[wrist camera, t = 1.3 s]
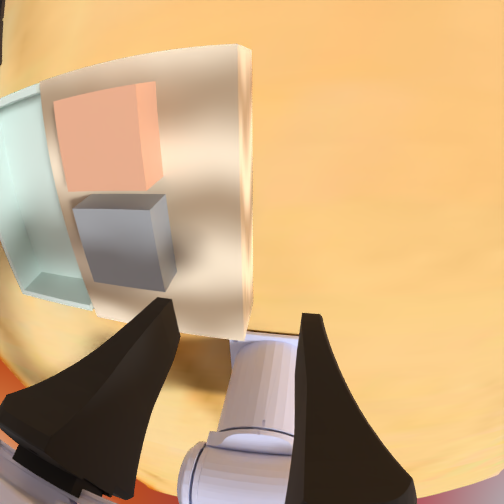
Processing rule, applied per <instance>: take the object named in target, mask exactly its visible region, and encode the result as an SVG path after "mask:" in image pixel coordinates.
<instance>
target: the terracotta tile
mask: <svg viewBox="0 0 504 504" xmlns="http://www.w3.org/2000/svg"><path fill="white" fill-rule="evenodd" d="M53 104H54V113H55V121H56V128H57V135H58V141H59V147H60V153H61V158H62V164H63V169H64V174H65V179H66V183H67V188H68V192H78V191H147V190H148V189H149V188H151V187H152V186H153V185H154V184H155V183H156V182H158V181H159V180H160V179H161V178H162V177H164V176H163V167H162V157H161V147H160V136H159V124H158V112H157V97H156V81H152V82H145V83H138V84H132V85H126V86H120V87H114V88H109V89H104V90H99V91H94V92H90V93H85V94H81V95H77V96H73V97H69V98H65V99H61V100H57V101H54V102H53Z"/></svg>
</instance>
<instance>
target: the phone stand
mask: <svg viewBox="0 0 504 504" xmlns="http://www.w3.org/2000/svg"><path fill="white" fill-rule="evenodd" d="M4 7H5V0H0V65H1V63H2V33H3V21H2V18H4Z"/></svg>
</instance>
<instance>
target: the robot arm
mask: <svg viewBox="0 0 504 504" xmlns="http://www.w3.org/2000/svg"><path fill="white" fill-rule="evenodd" d="M179 340H180V332H179V328H178V324H177V319H176V315H175V311H174V306H173V302H172V299H168V298H161V297H157V298H156V299H154V300H153V301H152V302H151V303H150V304H149V305H148V306H146V307H145V308H144V309H143V310H142V311H141V312H140V313H139V314H138V315H136V316H135V317H134V318H133V319H132V320H131V321H130V322H129V323H127V324H126V325H125V326H124V327H123V328H122V329H121V330H119V331H118V332H117V333H116V334H115V335H114V336H112V337H111V338H110V339H109V340H107V341H106V342H105V343H104V344H102V345H101V346H100V347H99V348H97V349H96V350H95V351H93V352H92V353H90V354H89V355H88V356H86V357H85V358H83V359H82V360H80V361H79V362H77V363H75V364H74V365H72V366H70V367H69V368H67V369H65V370H63V371H62V372H60V373H58V374H56V375H54V376H52V377H50V378H48V379H46V380H44V381H42V382H40V383H38V384H35V385H33V386H30V387H28V388H25V389H22V390H19V391H17V392H14V393H11V394H8V395H6V397H5V399H4V400H3V402H2V404H1V405H0V429H1V430H2V431H4V432H5V433H6V434H7V435H8V436H9V437H10V438H12V439H13V440H14V441H15V442H17V443H18V444H19V445H18V447H17V449H16V450H14V449H13V448H11V447H10V446H9V445H7V444H6V443H4V442H3V441H1V440H0V504H77V502H78V503H80V504H117V503H114V502H112V501H109V500H107V499H104V498H102V495H103V494H104V495H106V496H108V497H112V495H114V496H116V497H119V498H122V499H124V500H128V499H130V498H132V497H133V496H134V488H135V481H136V475H137V469H138V464H139V459H140V454H141V450H142V445H143V441H144V437H145V433H146V430H147V426H148V423H149V419H150V416H151V413H152V410H153V407H154V405H155V402H156V400H157V398H158V395H159V393H160V391H161V388H162V386H163V384H164V381H165V379H166V377H167V374H168V372H169V370H170V367H171V365H172V363H173V360H174V357H175V354H176V351H177V347H178V343H179ZM229 343H230V355H231V366H232V373H231V377H230V381H229V385H228V389H227V393H226V397H225V401H224V405H223V409H222V413H221V417H220V420H219V424H218V428H217V432H213V431H210V433H209V436H208V440H207V442H203V441H202V442H198V443H197V444H196V445H195V446H194V447H192V448H191V449H190V450H189V451H188V452H187V454H186V455H185V457H184V460H183V462H182V465H181V468H180V472H179V477H178V484H177V496H178V500H179V503H180V504H417V497H416V491H415V486H414V482H413V479H412V477H411V476H410V475H409V474H408V473H407V472H406V471H405V470H404V469H403V467H402V466H401V465H400V464H399V463H398V462H397V461H396V459H395V458H394V457H393V456H392V455H391V453H390V452H389V451H388V450H387V448H386V447H385V446H384V444H383V443H382V442H381V440H380V439H379V437H378V436H377V435H376V433H375V432H374V430H373V429H372V427H371V426H370V425H369V423H368V422H367V420H366V418H365V417H364V415H363V413H362V412H361V410H360V409H359V407H358V405H357V403H356V401H355V400H354V398H353V396H352V394H351V392H350V390H349V388H348V386H347V384H346V382H345V380H344V378H343V376H342V374H341V371H340V369H339V367H338V364H337V362H336V359H335V357H334V354H333V352H332V349H331V346H330V343H329V340H328V337H327V334H326V331H325V327H324V323H323V318H322V316H321V315H320V314H309V313H302V318H301V326H300V333H299V336H291V335H280V334H269V333H259V332H250V331H247V332H246V336H245V340H244V341H238V340H229ZM75 501H76V502H75Z"/></svg>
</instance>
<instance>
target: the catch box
mask: <svg viewBox="0 0 504 504" xmlns="http://www.w3.org/2000/svg"><path fill="white" fill-rule="evenodd" d="M0 241H1V243H2V246H3V249H4V251H5V254H6V256H7V259H8V261H9V264H10V266H11V268H12V271H13V273H14V275H15V278H16V280H17V282H18V284H19V286H20V289H21V291H22V293H23V294H25V295H29V296H32V297H36V298H40V299H44V300H48V301H52V302H56V303H60V304H64V305H68V306H73V307H77V308H81V309H86V310H90V311H92V310H93V309H94V307H93V304H92V302H91V299H90V297H89V294H88V291H87V289H86V286H85V283H84V281H83V278H82V275H81V272H80V269H79V266H78V263H77V260H76V257H75V254H74V251H73V248H72V245H71V242H70V238H69V235H68V232H67V228H66V225H65V221H64V218H63V214H62V210H61V206H60V202H59V198H58V194H57V190H56V186H55V181H54V177H53V172H52V167H51V162H50V157H49V151H48V146H47V140H46V134H45V127H44V120H43V112H42V103H41V94H40V83H38V84H34V85H32V86H29V87H27V88H24V89H21V90H19V91H16V92H14V93H12V94H9V95H7V96H5V97H2V98H0Z"/></svg>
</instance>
